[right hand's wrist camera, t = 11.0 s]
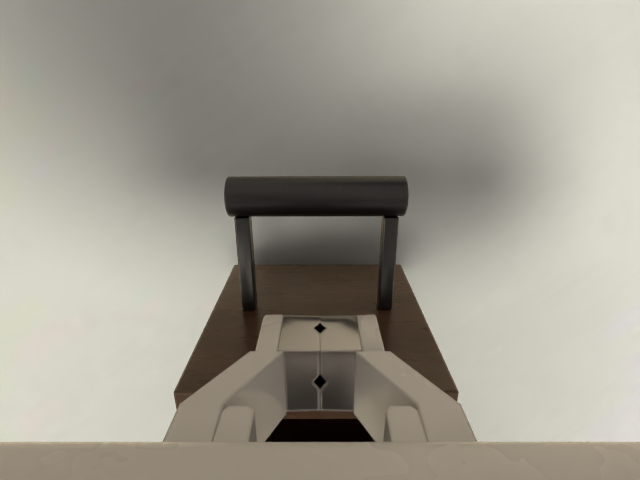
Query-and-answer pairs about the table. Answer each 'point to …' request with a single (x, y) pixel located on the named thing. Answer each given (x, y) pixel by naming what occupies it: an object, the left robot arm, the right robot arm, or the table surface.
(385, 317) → the drawer
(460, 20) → the table surface
